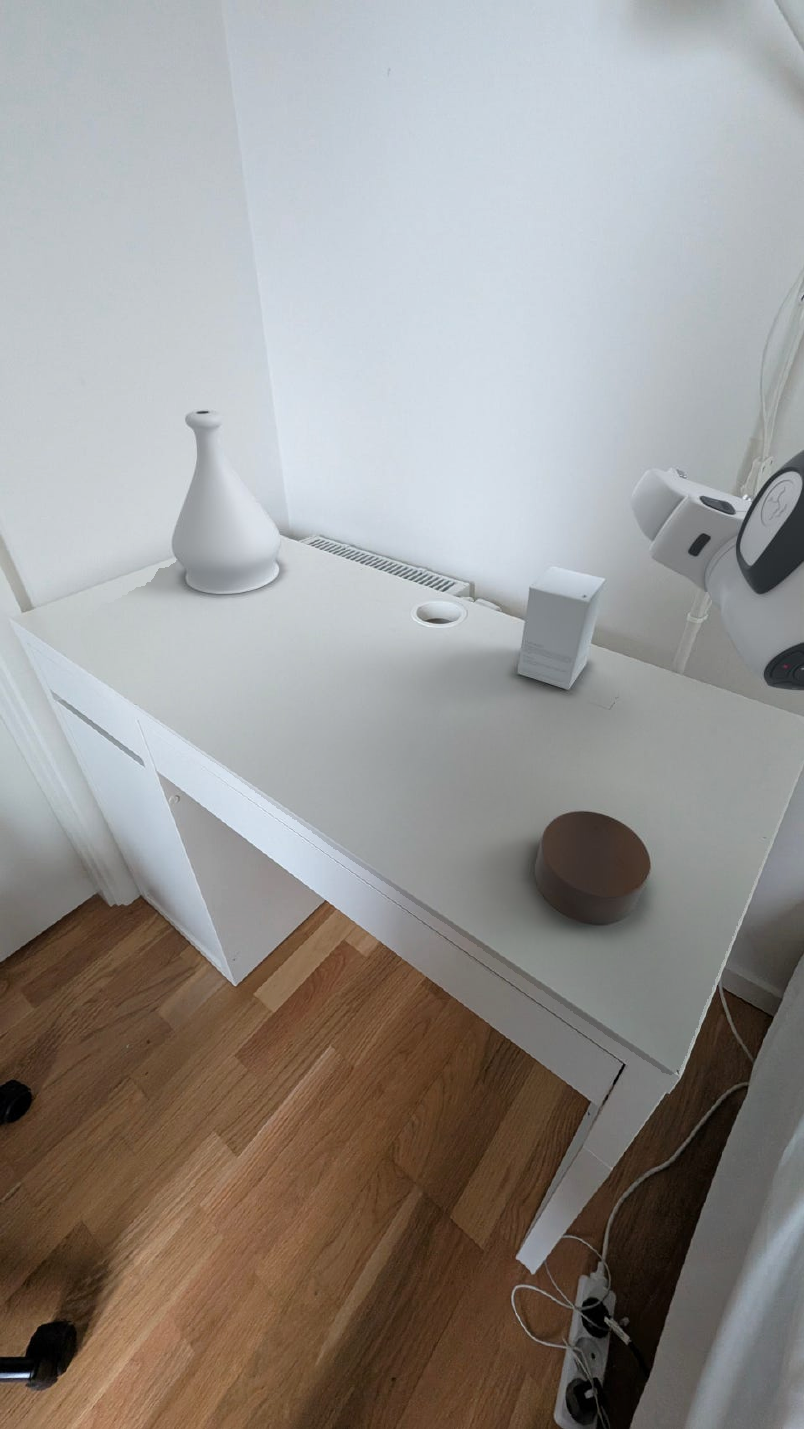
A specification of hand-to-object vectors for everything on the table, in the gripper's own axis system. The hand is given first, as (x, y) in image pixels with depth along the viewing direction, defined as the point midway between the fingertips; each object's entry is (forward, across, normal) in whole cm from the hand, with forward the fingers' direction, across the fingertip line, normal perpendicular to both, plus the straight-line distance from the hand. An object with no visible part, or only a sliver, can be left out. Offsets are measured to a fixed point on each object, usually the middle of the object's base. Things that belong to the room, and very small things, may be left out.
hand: (709, 488), depth 64 cm
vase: (+18, +55, +43) cm, 72 cm away
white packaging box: (-6, +7, +26) cm, 27 cm away
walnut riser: (-39, +9, +21) cm, 45 cm away
